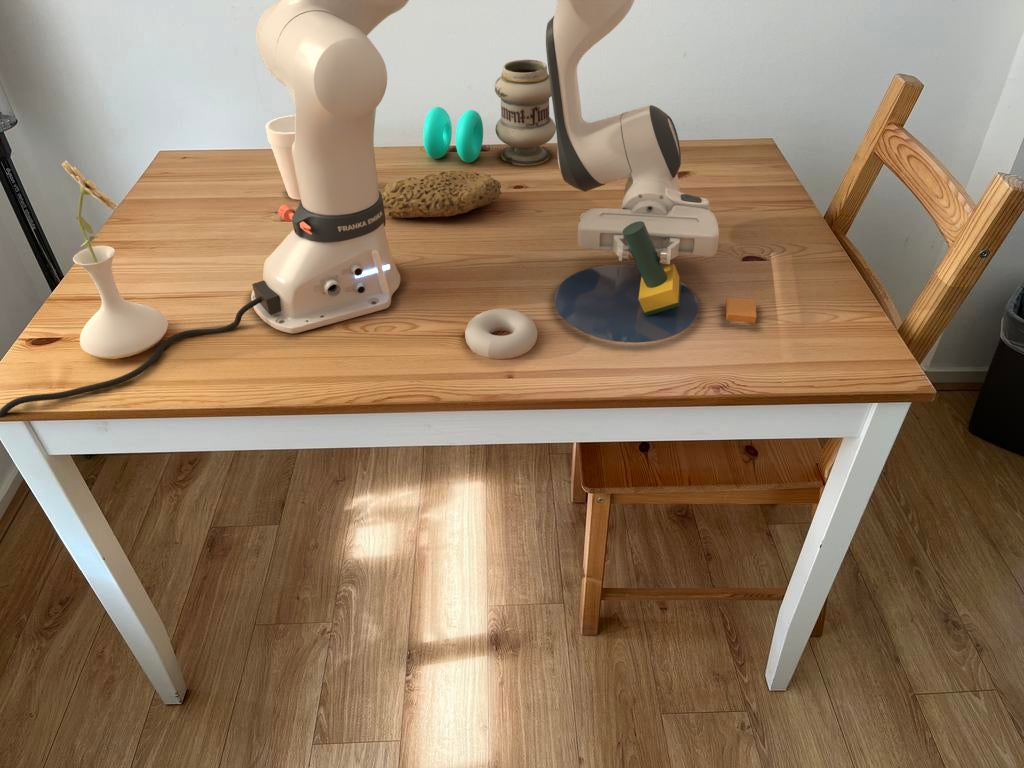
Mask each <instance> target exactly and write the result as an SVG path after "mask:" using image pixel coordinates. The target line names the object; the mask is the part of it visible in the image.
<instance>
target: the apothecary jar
mask: <svg viewBox="0 0 1024 768" xmlns="http://www.w3.org/2000/svg"><path fill="white" fill-rule="evenodd" d="M494 92H495V94H496V96H497V97H498V98H499V99H500V118H499V119H498V121H497V123H496V124H495V134H496V137H497V138H498V139H499V140H500V141H501V142H502V143H504V144H505V145H507V146H508V147H506V148H505V149H503V150H502V152H501V155H500V157H501V159H502V160H503V161H504V162H506V163H511V164H512V165H514V166H519V167H520V166H521V167H531V166H532V167H533V166H538V165H541V164H544V163H545V162H547V161H548V160H549V159H550V152H549V151H548V150H547V149H546V148H544V147H543V145H546V144H548V143H549V142H550V141H551V140H552V139H553V138H554V136H555V135H556V125H555V120H553V119H552V117H551V116H550V98H552V95H551V88H550V80H549V72H548V64H546V63H545V62H544V61H541V60H537V59H527V58H526V59H516V60H512V61H508V62H505V63H504V64H503V66H502V72H501V75H500V76H498V78H497V79H496V81H495V84H494Z"/></svg>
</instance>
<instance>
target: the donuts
mask: <svg viewBox="0 0 1024 768" xmlns="http://www.w3.org/2000/svg"><path fill="white" fill-rule="evenodd" d="M452 135H453V126H452V120H451V117H450V115H449V113H448V111H447V110H445V108H443V107H441V106H434V107H432V108H431V109H430V110H429V111H428V112H427V114H426V116H425V120H424V124H423V131H422V141H423V147H424V150H425V153H426V154H427V155H428V156H429V158H431V159H434V160H439V159H442V158H443V157H444V156H445V155H446V154H447V153H448V151H449V149H450V146H451V143H452V138H453V137H452ZM483 140H484V123H483V119H482V116H481V114H480V113H479V112H478V111H476V110H474V109H468V110H466V111H464V112H463V114H461V116H460V118H459V119H458V122H457V125H456V130H455V148H456V153H457V155H458V156H459V158H460V159H461V161H463V162H464V163H473V162H475V161H476V160H477V159H478V158H479V156H480V154H481V151H482V147H483Z"/></svg>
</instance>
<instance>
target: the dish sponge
mask: <svg viewBox="0 0 1024 768" xmlns="http://www.w3.org/2000/svg"><path fill="white" fill-rule="evenodd" d="M622 233H623V235H624V237H625V240H626V242H627V244H628V247H629V249H630V251H631V252H630V254H631V256H632V258H633V261H634V263H635V266H637V267H638V269H639V271H640V274H641V284H640V291H639V299H638V300H639V302H640V304H641V306H642V308H643V311H644V312H645V315H646V316H648V315H651V314H654V313H658V312H661V311H665V310H668V309H671V308H675V307H678V306H680V288H681V281H682V280H681V277H680V274H679V272H678V269H677V268H676V265H675V263H672V264H670V265H669V264H668V265H666V266H663V264H659V262H660V256H659V254H657V252H656V250H655V247H654V245H653V242H652V240H651V238H650V235H649V233H648V231H647V228H646V226H645V224H644V222H642V221H639V222H634V223H632V224H630V225H628V226H627V227H625V228H624V230H623V232H622Z"/></svg>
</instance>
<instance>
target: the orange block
mask: <svg viewBox="0 0 1024 768" xmlns="http://www.w3.org/2000/svg"><path fill="white" fill-rule="evenodd" d="M725 320H726V321H732V322H742V323H749V324H756V323H757V303H756V299H751V298H750V299H749V298H748V299H747V298H739V297H726V300H725Z"/></svg>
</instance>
